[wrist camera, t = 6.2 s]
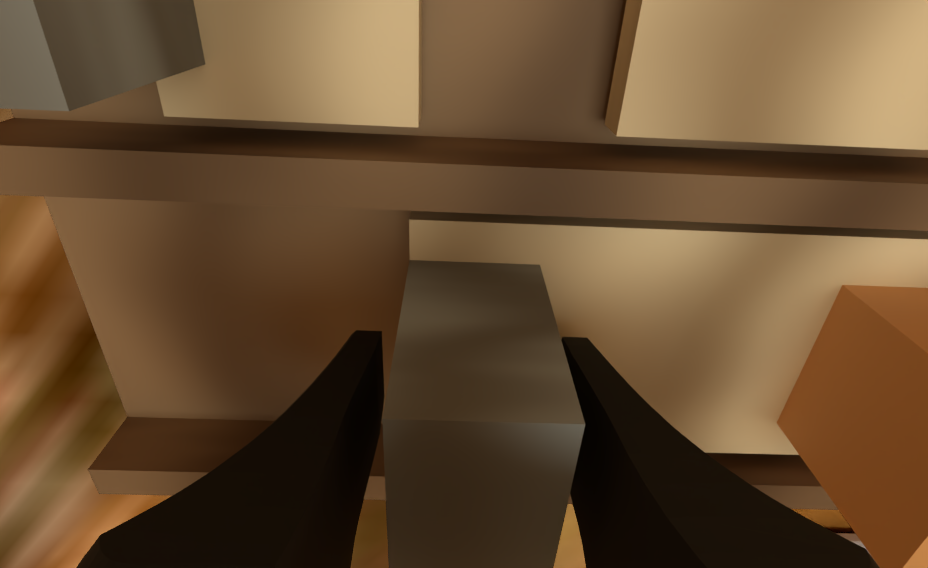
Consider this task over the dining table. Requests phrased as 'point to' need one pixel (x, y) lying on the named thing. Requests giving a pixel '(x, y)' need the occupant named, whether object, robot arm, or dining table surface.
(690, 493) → the robot arm
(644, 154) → the lane board
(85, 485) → the dining table surface
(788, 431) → the orange cube
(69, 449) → the dining table surface
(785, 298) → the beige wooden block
